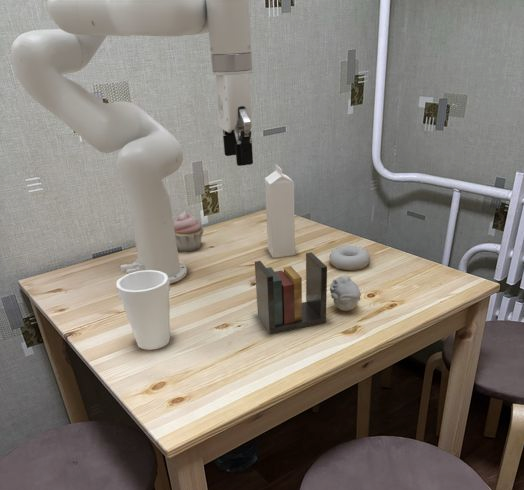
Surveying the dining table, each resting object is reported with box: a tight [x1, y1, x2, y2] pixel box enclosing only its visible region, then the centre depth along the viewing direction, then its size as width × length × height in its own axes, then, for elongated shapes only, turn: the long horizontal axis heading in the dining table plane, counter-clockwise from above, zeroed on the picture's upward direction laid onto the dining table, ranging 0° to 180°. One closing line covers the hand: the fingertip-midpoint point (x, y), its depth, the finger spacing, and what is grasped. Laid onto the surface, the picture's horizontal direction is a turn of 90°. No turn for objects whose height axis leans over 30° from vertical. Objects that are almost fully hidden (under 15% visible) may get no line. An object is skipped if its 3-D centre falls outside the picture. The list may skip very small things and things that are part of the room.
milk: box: [264, 163, 296, 259], centre depth 133 cm, size 6×6×22 cm
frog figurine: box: [329, 275, 362, 312], centre depth 109 cm, size 6×7×7 cm
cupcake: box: [173, 211, 205, 252], centre depth 142 cm, size 9×9×10 cm
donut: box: [328, 245, 371, 271], centre depth 129 cm, size 10×4×10 cm
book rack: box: [254, 251, 328, 335], centre depth 104 cm, size 12×8×12 cm, turn 107°
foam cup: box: [115, 270, 171, 351], centre depth 99 cm, size 10×9×13 cm
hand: (238, 159), depth 107 cm, fingers open, 9 cm apart
